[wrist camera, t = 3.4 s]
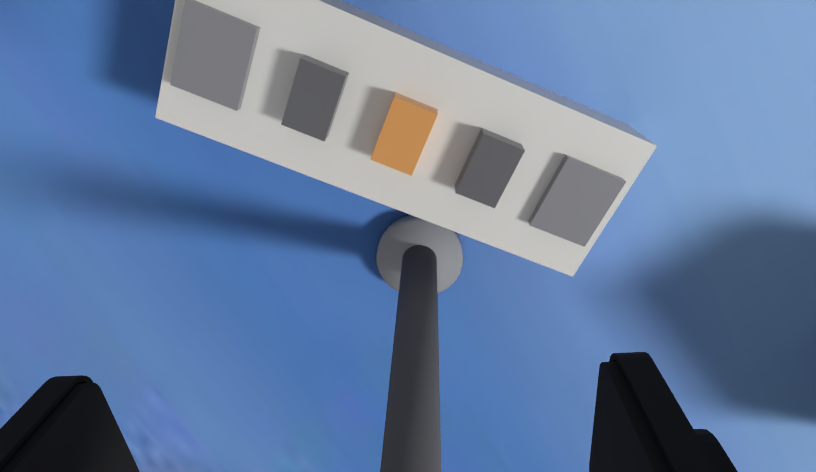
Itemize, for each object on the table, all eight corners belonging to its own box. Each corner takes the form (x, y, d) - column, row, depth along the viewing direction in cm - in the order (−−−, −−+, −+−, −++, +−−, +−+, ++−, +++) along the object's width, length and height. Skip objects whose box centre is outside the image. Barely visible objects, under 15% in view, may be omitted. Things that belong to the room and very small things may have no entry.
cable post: (373, 216, 35) (296, 532, 15) (460, 211, 35) (500, 529, 15) (382, 289, 38) (327, 640, 18) (463, 285, 37) (501, 641, 17)
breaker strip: (223, -52, 29) (173, -59, 23) (625, 122, 32) (666, 152, 27) (193, 98, 33) (144, 123, 27) (555, 239, 36) (577, 286, 30)
